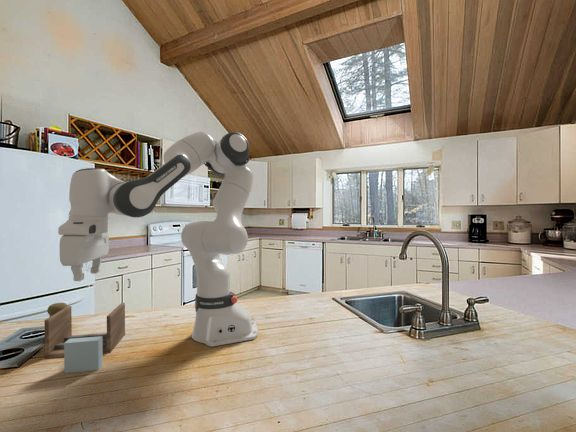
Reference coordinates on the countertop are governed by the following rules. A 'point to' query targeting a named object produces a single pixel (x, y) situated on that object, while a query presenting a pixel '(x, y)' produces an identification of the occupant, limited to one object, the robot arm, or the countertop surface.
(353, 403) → the countertop surface
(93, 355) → the door panel
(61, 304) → the cork
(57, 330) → the cabinet
